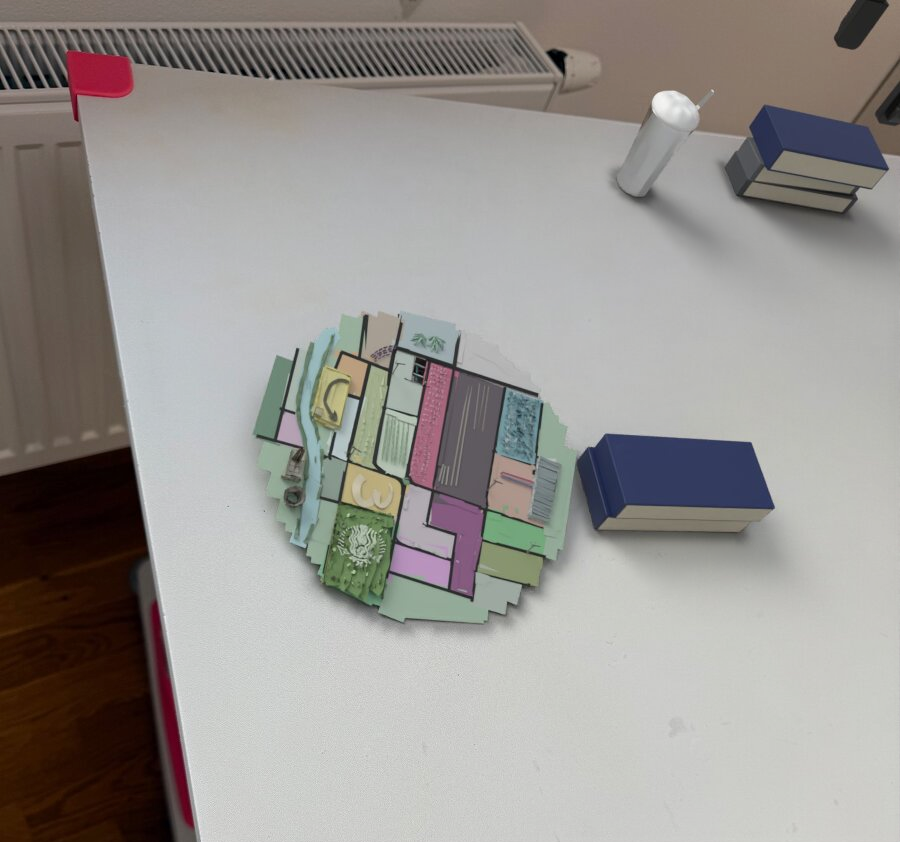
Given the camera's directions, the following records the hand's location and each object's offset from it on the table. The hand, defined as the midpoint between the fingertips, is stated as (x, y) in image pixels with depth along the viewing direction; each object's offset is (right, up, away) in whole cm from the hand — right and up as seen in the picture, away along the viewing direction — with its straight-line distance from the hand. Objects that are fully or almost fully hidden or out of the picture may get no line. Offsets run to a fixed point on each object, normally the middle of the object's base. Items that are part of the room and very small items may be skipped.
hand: (863, 82), depth 73 cm
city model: (-34, -31, -5) cm, 46 cm away
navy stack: (-15, -31, +1) cm, 35 cm away
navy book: (+5, +5, +23) cm, 24 cm away
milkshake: (-14, 0, +19) cm, 23 cm away
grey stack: (+3, +3, +27) cm, 27 cm away
